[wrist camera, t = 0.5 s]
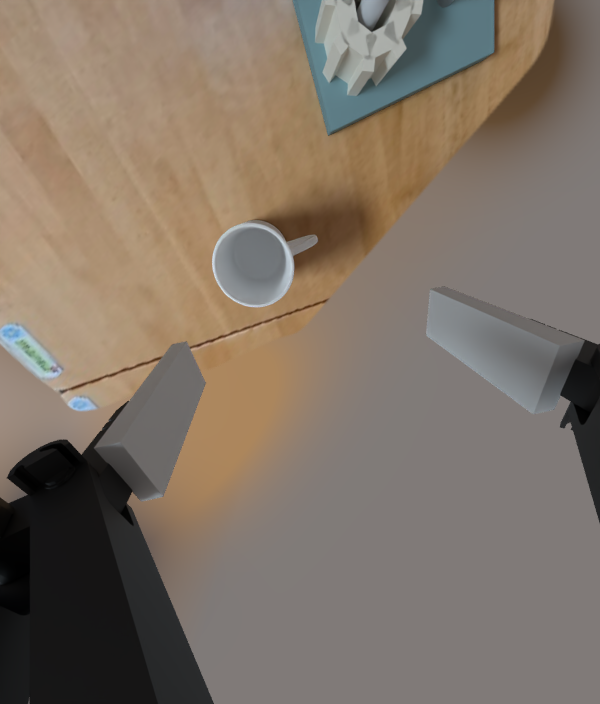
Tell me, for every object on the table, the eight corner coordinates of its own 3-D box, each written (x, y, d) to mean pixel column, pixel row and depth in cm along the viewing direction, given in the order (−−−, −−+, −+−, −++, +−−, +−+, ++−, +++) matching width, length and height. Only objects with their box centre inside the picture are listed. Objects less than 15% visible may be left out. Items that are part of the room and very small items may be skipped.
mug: (303, 206, 33) (319, 199, 22) (315, 270, 37) (334, 290, 26) (217, 229, 33) (194, 233, 22) (240, 290, 37) (228, 318, 27)
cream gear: (304, -2, 23) (312, -53, 19) (386, -46, 23) (414, -110, 18) (331, 108, 27) (343, 87, 23) (402, 73, 27) (428, 44, 22)
